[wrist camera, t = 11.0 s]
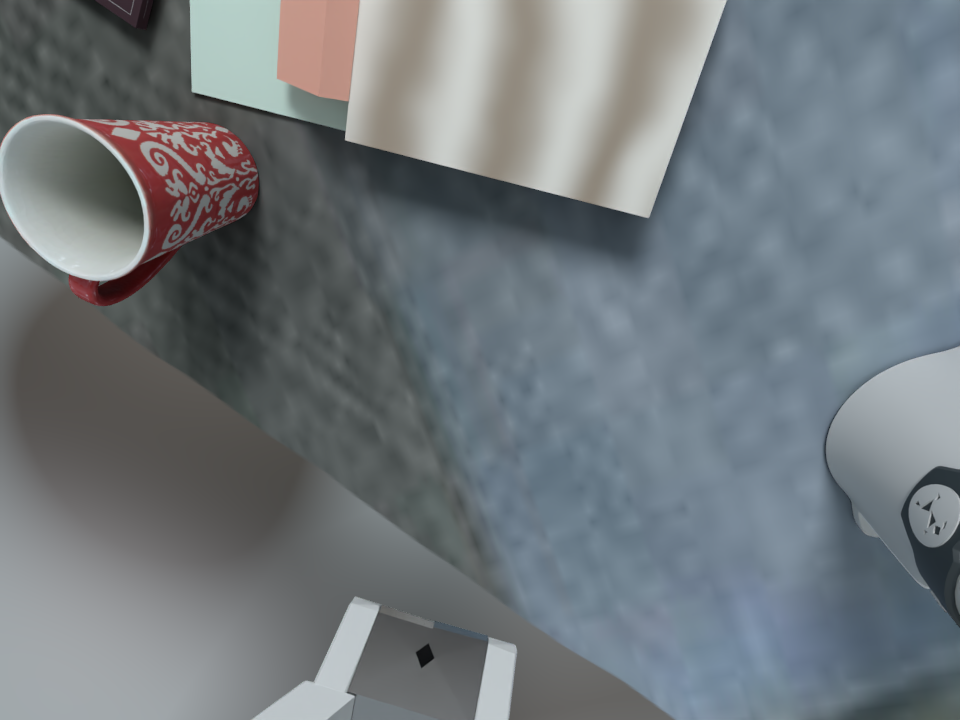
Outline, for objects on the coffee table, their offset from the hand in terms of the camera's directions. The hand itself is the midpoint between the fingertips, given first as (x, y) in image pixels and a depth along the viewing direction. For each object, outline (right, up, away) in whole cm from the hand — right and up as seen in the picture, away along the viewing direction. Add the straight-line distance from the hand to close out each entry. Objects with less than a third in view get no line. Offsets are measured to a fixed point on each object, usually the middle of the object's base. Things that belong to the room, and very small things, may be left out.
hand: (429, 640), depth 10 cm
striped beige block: (+4, +24, +26) cm, 36 cm away
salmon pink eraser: (-8, +27, +25) cm, 37 cm away
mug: (-20, +18, +34) cm, 43 cm away
